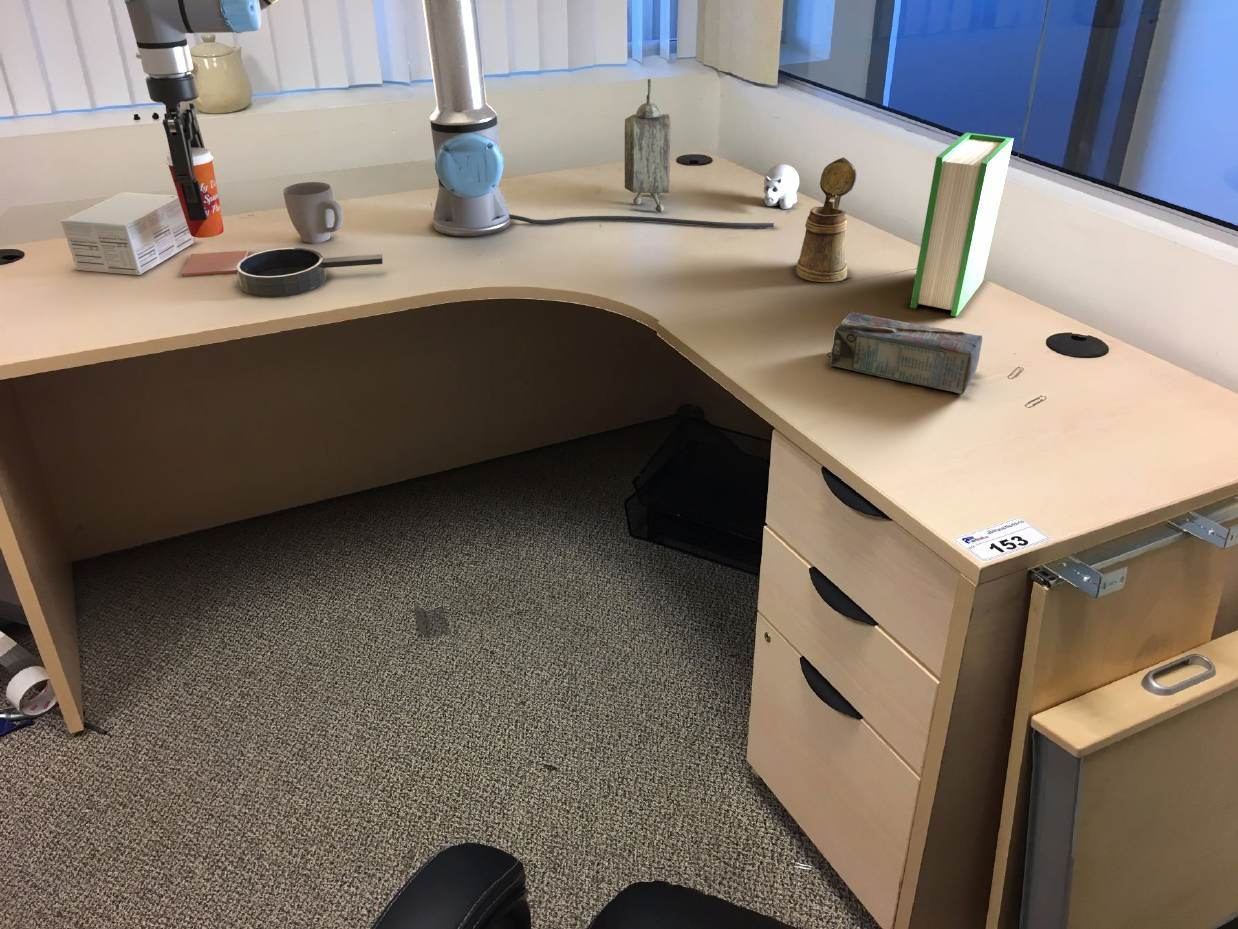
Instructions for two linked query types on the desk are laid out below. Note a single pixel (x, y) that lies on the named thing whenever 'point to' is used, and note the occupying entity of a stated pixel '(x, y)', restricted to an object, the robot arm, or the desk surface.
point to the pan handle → (352, 261)
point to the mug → (313, 210)
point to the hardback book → (960, 220)
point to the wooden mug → (827, 228)
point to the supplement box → (127, 233)
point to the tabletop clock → (647, 151)
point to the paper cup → (208, 192)
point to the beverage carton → (906, 352)
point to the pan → (281, 272)
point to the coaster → (213, 263)
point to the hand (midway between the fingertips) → (202, 211)
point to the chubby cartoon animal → (781, 186)
